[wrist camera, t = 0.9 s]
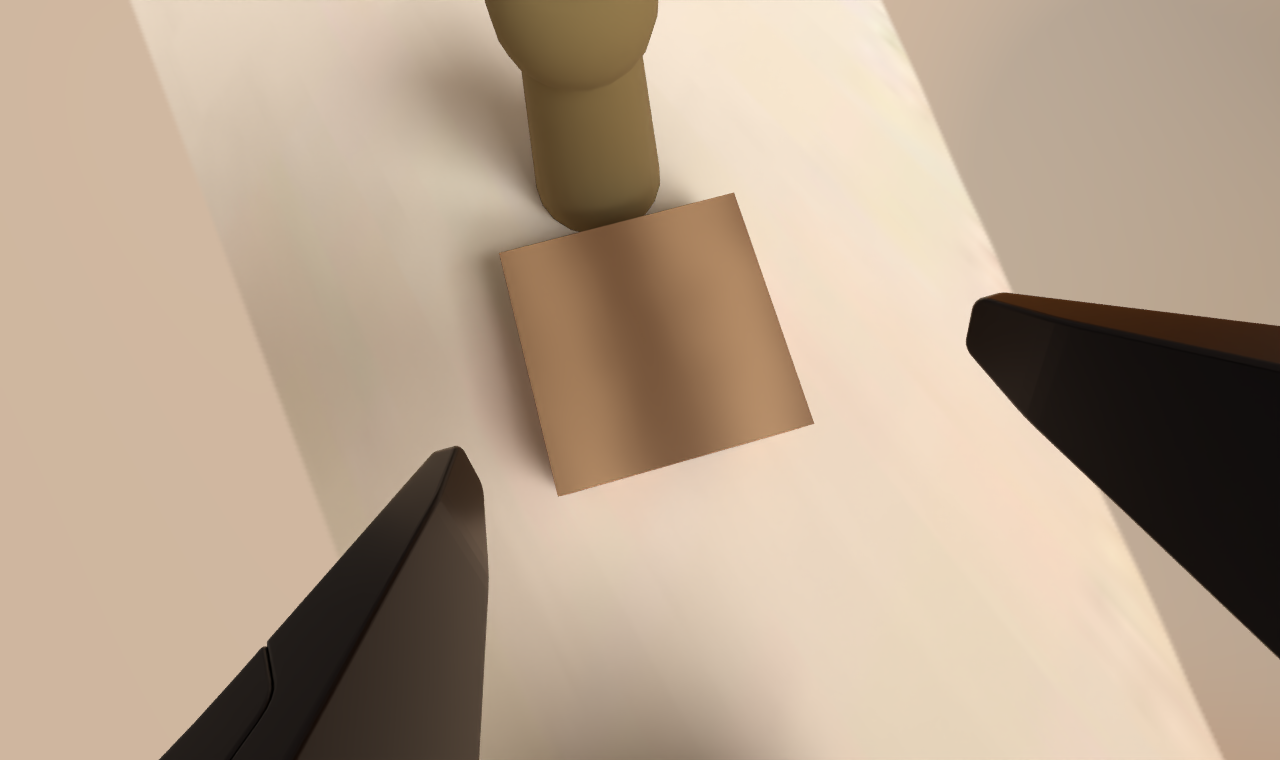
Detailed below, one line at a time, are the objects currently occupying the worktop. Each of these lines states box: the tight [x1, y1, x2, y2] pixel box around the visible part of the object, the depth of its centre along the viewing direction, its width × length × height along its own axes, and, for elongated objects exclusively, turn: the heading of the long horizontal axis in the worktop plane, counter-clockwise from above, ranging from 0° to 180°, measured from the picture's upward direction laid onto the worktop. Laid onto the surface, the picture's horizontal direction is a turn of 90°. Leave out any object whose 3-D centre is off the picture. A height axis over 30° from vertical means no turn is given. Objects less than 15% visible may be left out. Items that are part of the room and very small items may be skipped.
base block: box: [499, 193, 814, 496], centre depth 21 cm, size 10×10×3 cm
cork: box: [485, 0, 660, 232], centre depth 19 cm, size 6×6×11 cm
